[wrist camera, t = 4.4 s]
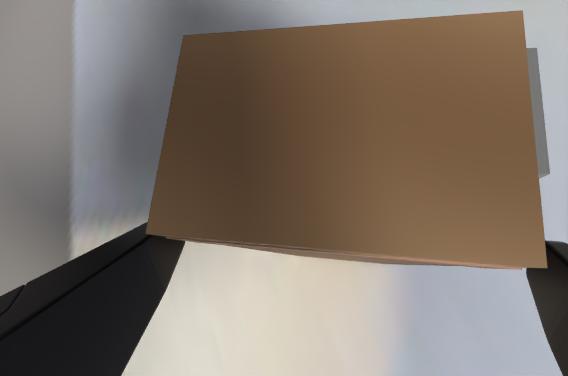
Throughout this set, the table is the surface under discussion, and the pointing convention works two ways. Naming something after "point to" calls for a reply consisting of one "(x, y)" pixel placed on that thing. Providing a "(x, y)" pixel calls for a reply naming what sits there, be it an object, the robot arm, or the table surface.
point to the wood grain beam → (357, 143)
